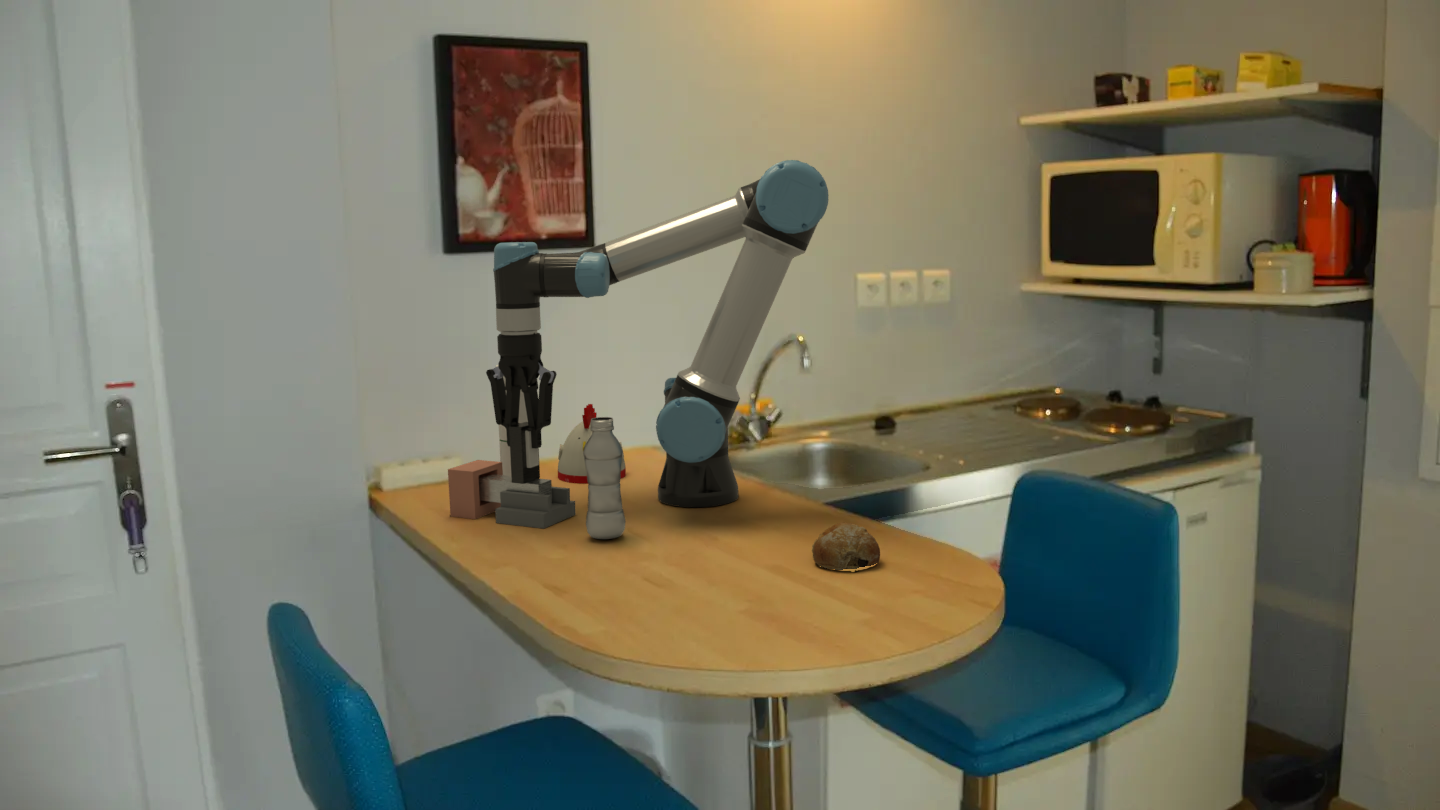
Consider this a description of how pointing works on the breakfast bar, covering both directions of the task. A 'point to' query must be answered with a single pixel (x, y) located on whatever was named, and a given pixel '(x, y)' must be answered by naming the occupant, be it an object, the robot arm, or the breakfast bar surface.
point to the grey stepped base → (535, 508)
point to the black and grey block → (515, 472)
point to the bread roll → (845, 547)
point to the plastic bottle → (604, 481)
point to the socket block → (471, 489)
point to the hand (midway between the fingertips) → (525, 465)
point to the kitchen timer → (578, 451)
